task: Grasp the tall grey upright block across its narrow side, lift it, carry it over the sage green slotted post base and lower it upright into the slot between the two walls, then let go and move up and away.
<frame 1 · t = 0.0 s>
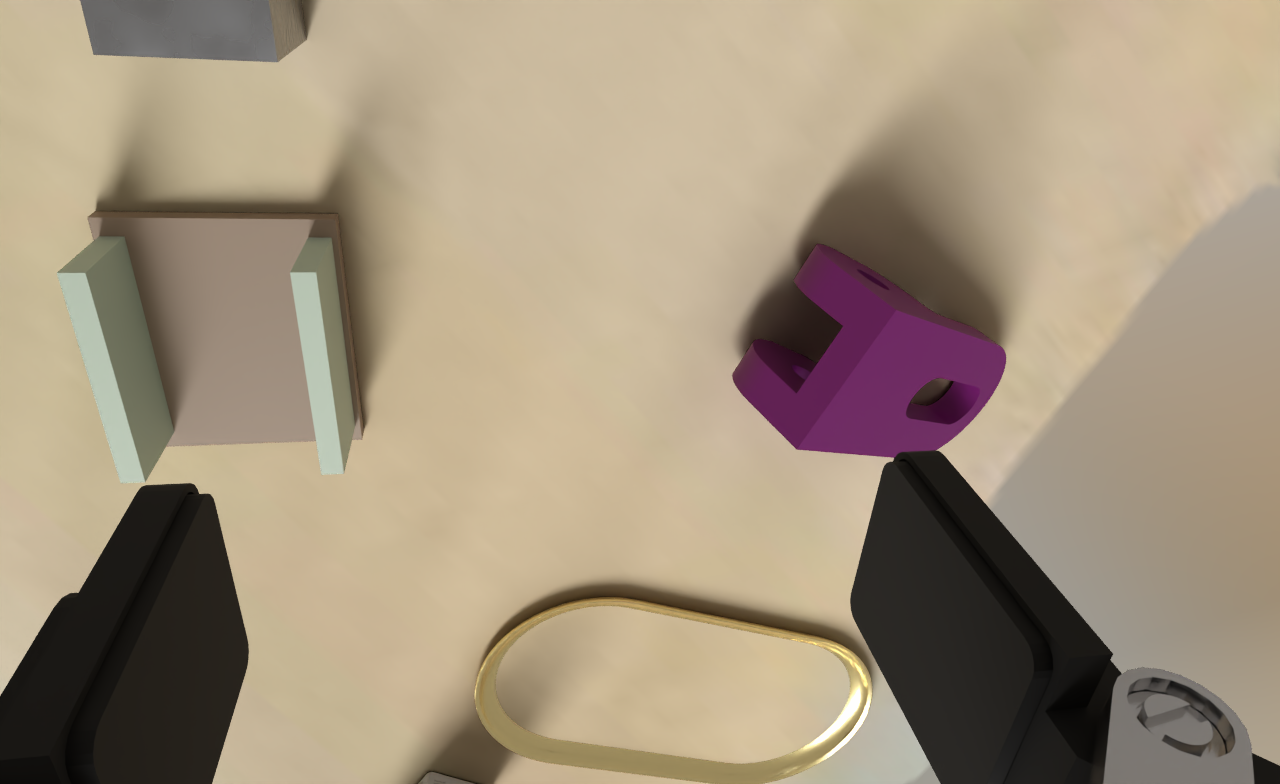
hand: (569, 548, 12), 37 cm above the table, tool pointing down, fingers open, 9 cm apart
mounting bracket: (868, 347, 56), on the table
gold oval ring: (680, 685, 70), on the table
post slot: (242, 331, 47), on the table
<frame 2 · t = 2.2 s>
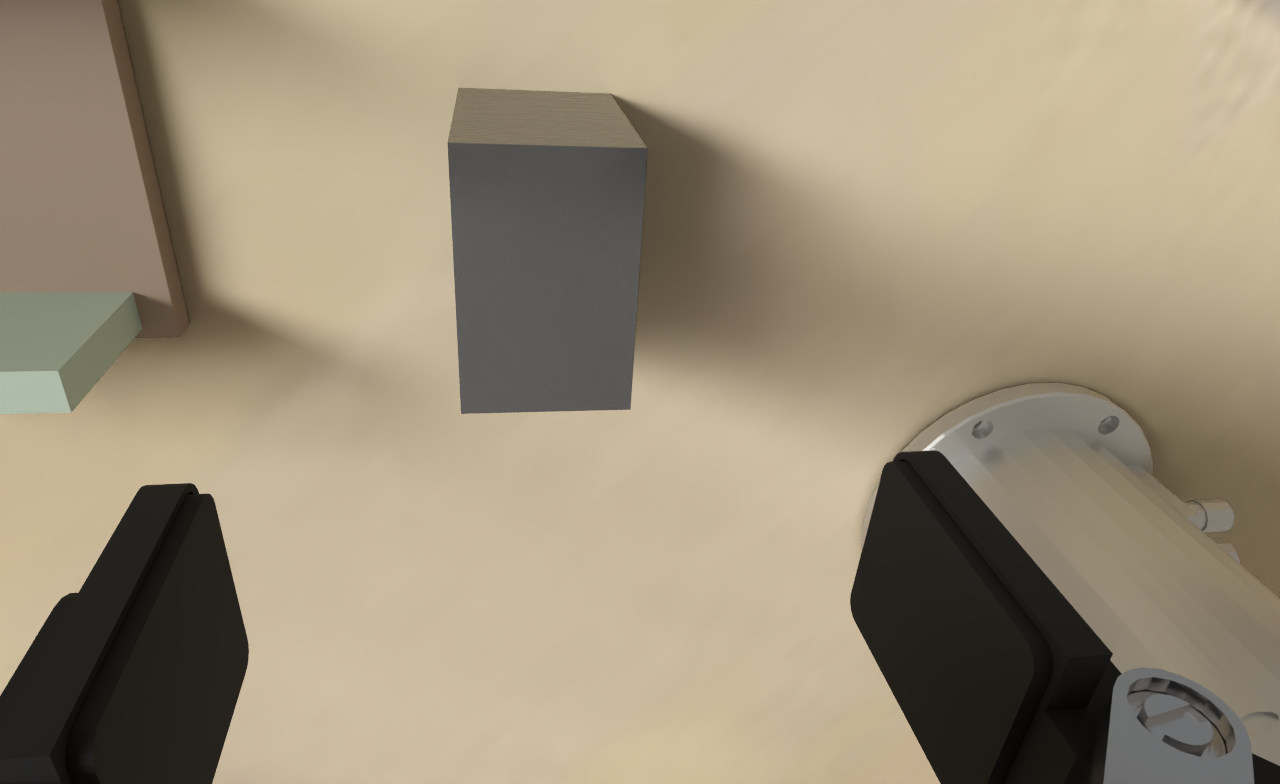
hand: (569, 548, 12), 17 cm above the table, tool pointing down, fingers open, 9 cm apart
tall grey upright block: (535, 205, 26), on the table
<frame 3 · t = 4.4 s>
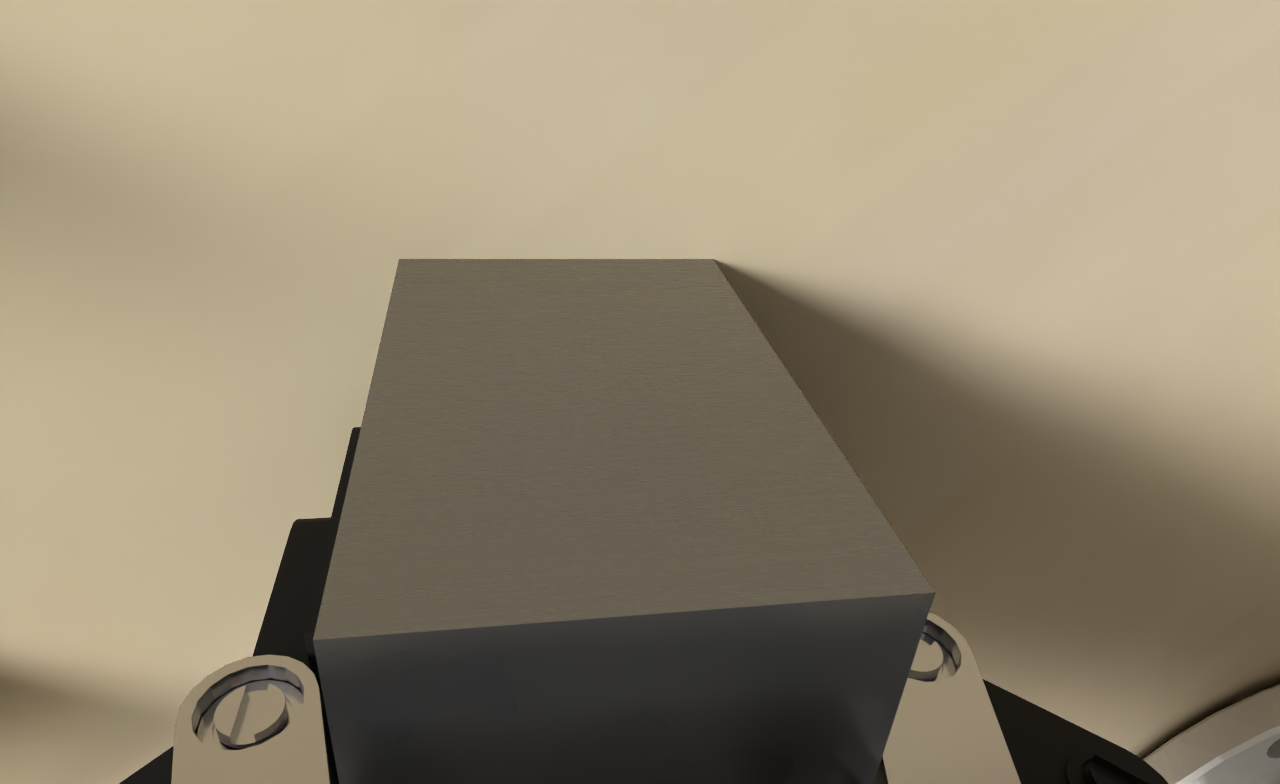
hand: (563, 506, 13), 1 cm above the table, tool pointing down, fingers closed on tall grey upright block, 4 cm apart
tall grey upright block: (557, 460, 14), on the table, touching gripper
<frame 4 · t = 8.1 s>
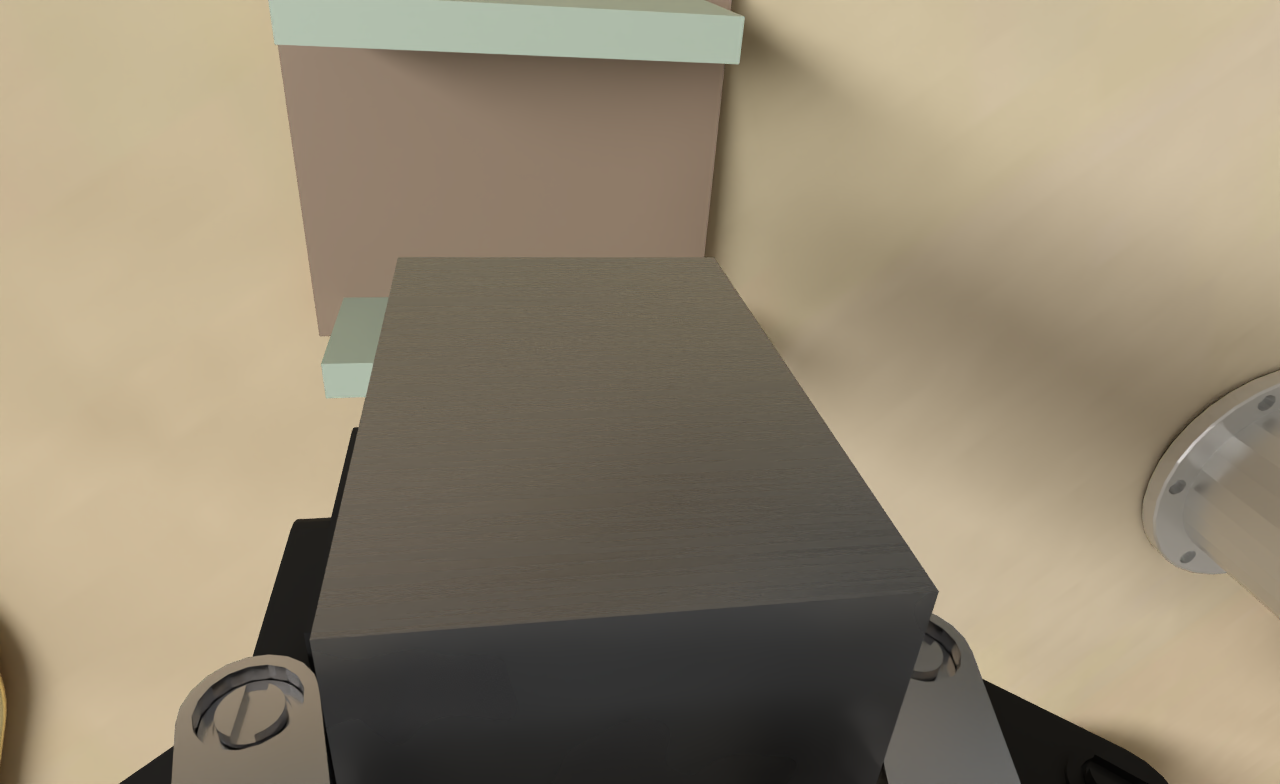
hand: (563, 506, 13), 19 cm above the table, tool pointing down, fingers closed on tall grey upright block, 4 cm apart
tall grey upright block: (557, 459, 14), point 18 cm above the table, touching gripper
post slot: (512, 166, 29), on the table
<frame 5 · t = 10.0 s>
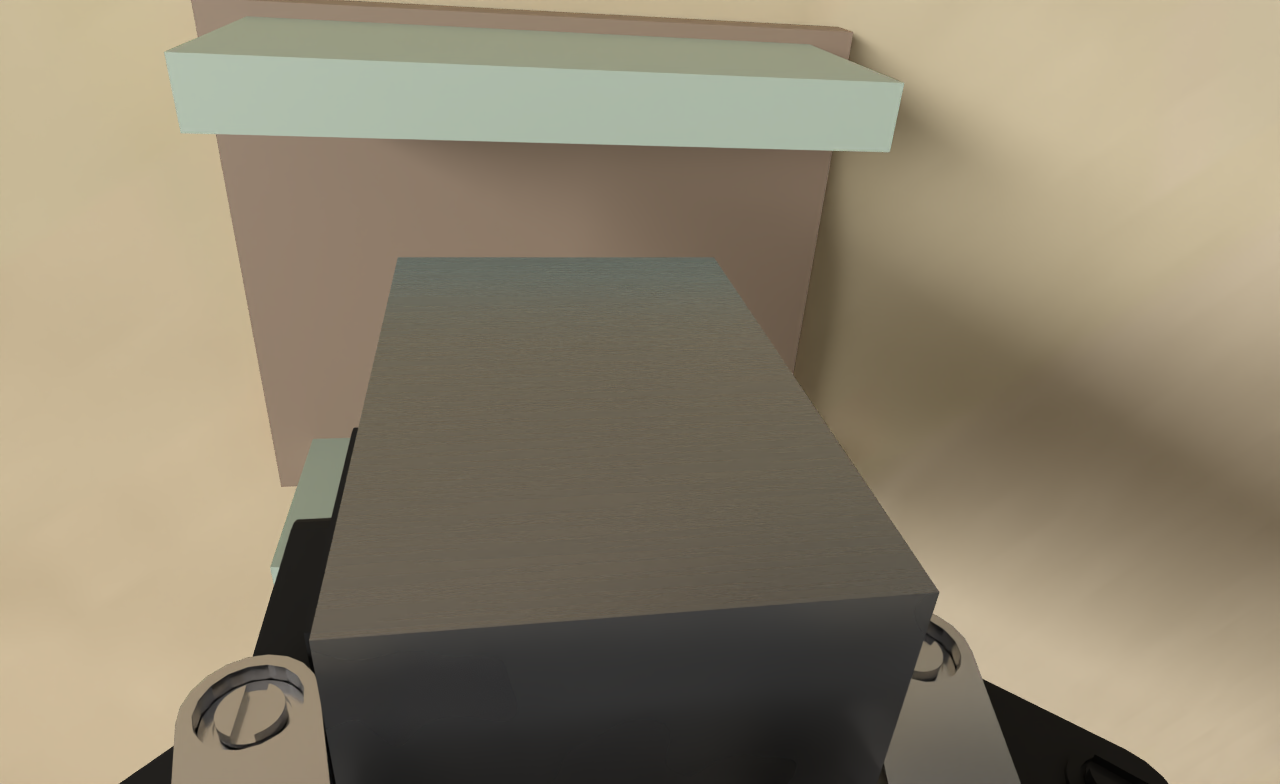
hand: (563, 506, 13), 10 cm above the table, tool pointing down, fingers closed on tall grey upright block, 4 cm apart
tall grey upright block: (557, 459, 14), point 9 cm above the table, touching gripper
post slot: (540, 264, 21), on the table
when the fingers open (4 cm above the table, at t = 11.6 s): tall grey upright block drops 1 cm, resting on post slot.
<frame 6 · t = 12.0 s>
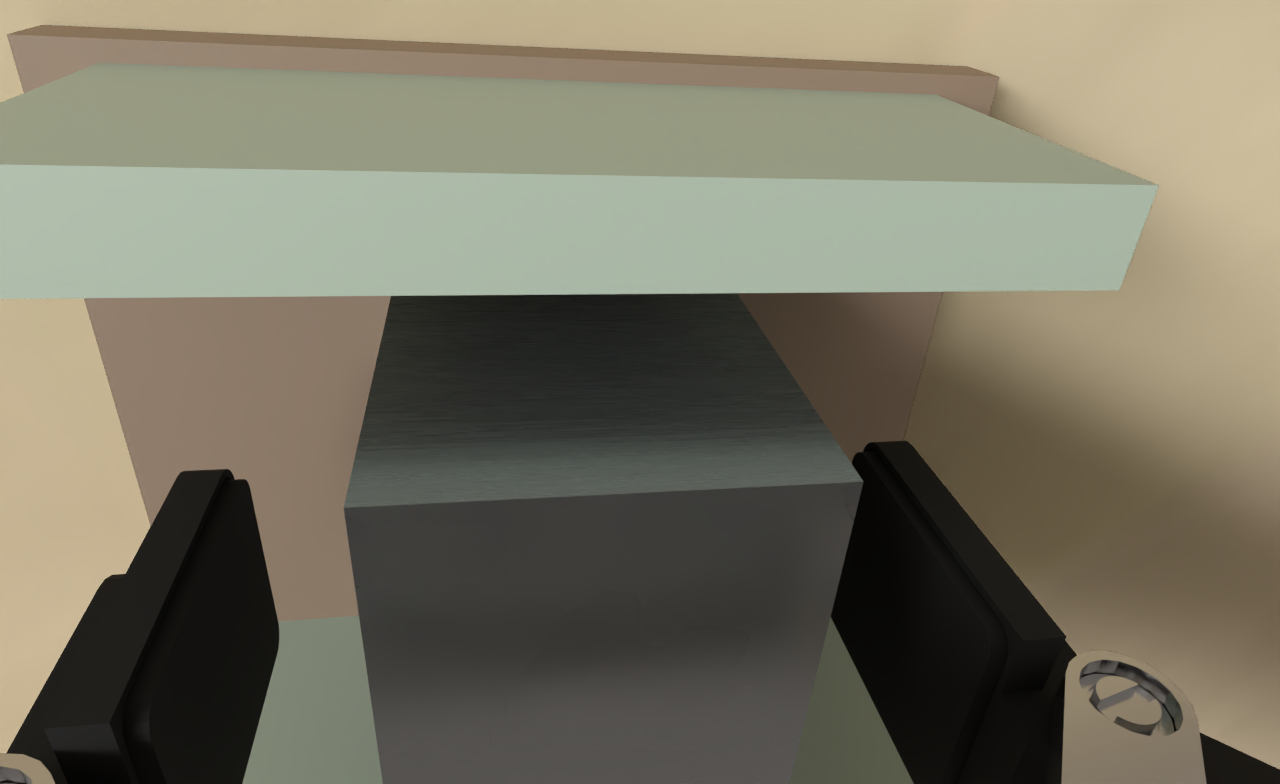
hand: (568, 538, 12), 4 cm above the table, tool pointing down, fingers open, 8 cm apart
tall grey upright block: (551, 415, 15), point 1 cm above the table, touching post slot
post slot: (546, 387, 16), on the table
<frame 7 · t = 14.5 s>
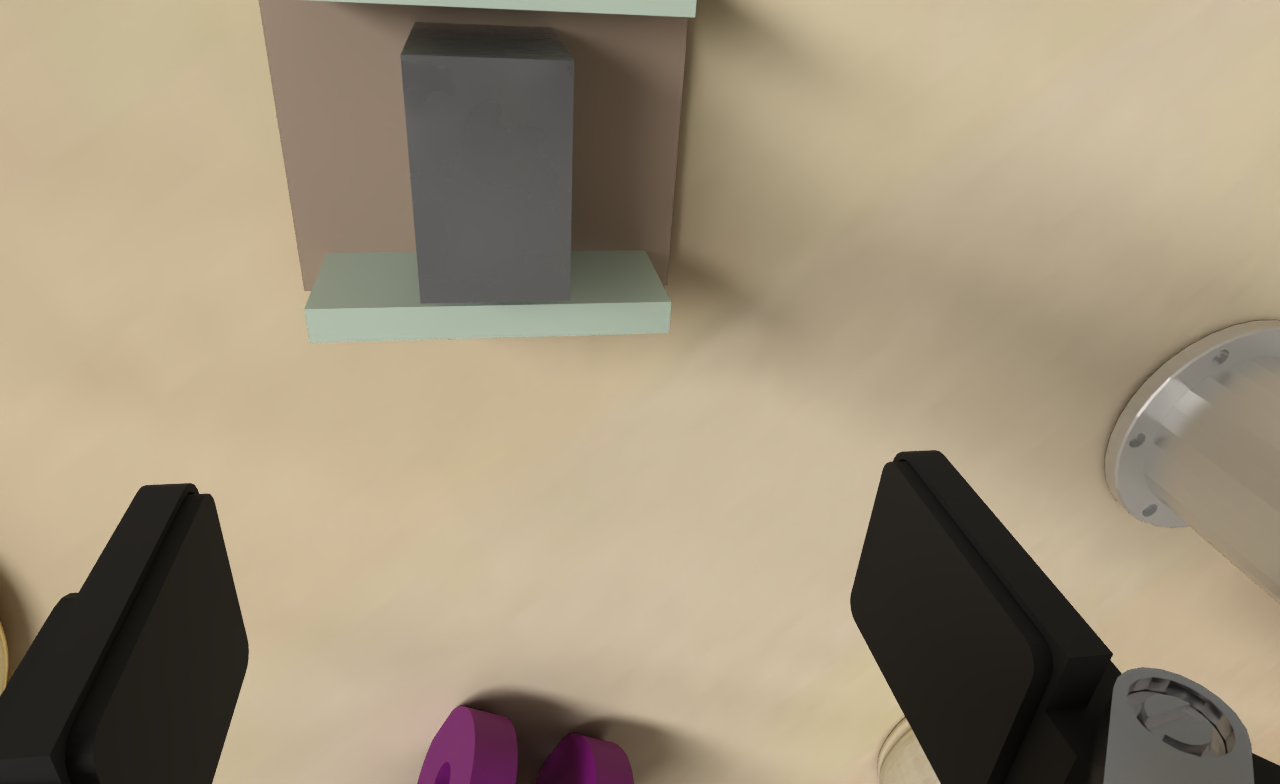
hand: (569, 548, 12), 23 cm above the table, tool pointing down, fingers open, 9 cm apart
tall grey upright block: (487, 131, 29), point 1 cm above the table, touching post slot
jug: (957, 738, 56), on the table
post slot: (486, 125, 30), on the table
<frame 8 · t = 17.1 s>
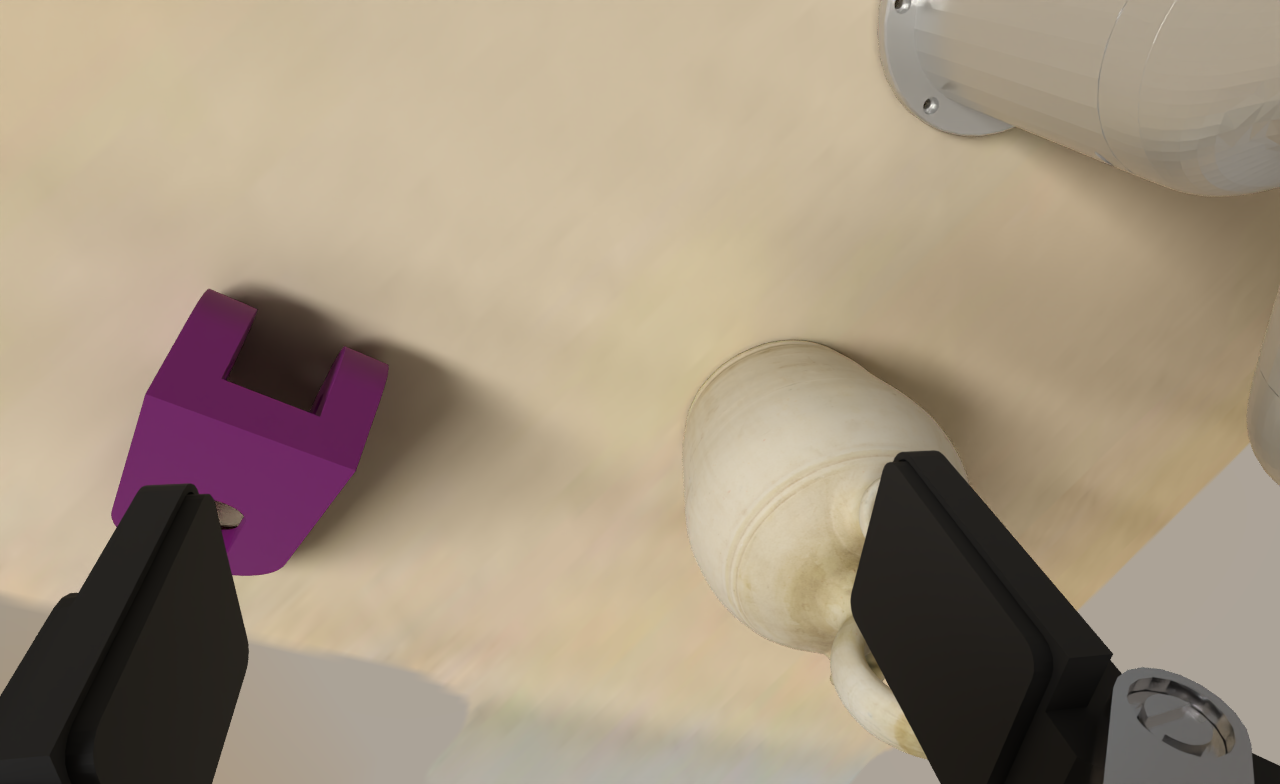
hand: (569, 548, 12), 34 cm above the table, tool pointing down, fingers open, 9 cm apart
mounting bracket: (251, 431, 48), on the table
jug: (772, 419, 54), on the table
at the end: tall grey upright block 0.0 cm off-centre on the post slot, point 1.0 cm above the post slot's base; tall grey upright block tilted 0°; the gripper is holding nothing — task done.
